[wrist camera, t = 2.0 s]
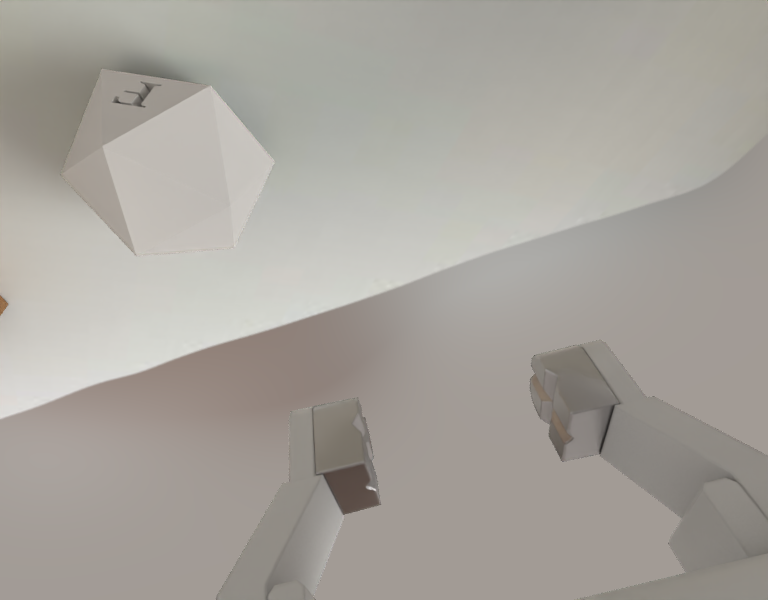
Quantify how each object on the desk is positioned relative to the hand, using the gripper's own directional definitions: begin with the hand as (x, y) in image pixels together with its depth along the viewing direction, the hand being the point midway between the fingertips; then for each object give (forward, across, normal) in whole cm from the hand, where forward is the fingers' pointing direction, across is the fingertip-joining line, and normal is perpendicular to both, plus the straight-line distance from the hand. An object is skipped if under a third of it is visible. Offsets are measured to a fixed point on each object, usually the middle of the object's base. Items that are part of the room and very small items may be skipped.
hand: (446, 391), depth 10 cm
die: (+21, +10, 0) cm, 23 cm away
